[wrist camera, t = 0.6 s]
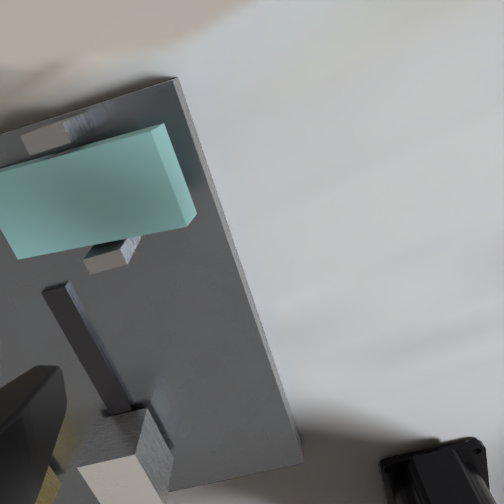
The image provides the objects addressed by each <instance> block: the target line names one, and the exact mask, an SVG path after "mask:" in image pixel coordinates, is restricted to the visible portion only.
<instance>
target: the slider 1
mask: <svg viewBox="0 0 504 504" xmlns="http://www.w3.org/2000/svg"><path fill="white" fill-rule="evenodd" d="M61 484H62V483H61V482H60V481H59V479H58V478H57V476H56V475H55V473H54V472H53V470H52V469H51V468H50V466H48V469H47V472H46V475H45V479H44V482H43V484H42V487H41V490H40V493H39V496H38V498H37V501H36V503H35V504H53V503H54V501H55V498H56V496H57V493H58V491H59V488H60V486H61Z"/></svg>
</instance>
